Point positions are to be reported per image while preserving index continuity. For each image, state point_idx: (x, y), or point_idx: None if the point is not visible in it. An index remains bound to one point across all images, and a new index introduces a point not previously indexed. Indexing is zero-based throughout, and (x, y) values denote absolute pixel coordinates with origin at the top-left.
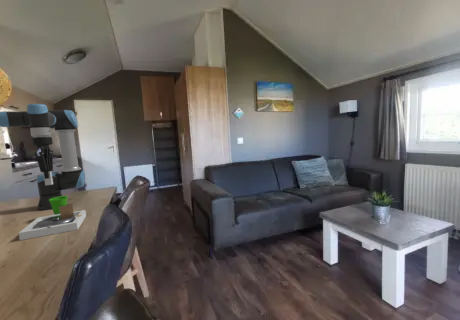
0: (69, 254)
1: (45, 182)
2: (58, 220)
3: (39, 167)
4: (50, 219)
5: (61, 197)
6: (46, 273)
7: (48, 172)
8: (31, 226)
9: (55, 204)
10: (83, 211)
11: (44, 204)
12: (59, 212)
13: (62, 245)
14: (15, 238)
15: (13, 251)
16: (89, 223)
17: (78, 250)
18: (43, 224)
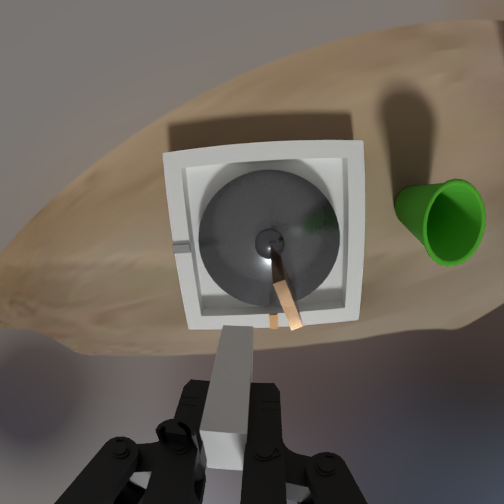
0: (56, 324)
1: (219, 345)
2: (255, 255)
3: (80, 474)
4: (294, 212)
5: (478, 226)
6: (15, 303)
7: (205, 453)
8: (233, 162)
9: (416, 212)
10: (337, 318)
11: None
12: (401, 212)
13: (92, 302)
14: (203, 124)
15: (92, 186)
16: None
17: (68, 337)
18: (229, 209)
